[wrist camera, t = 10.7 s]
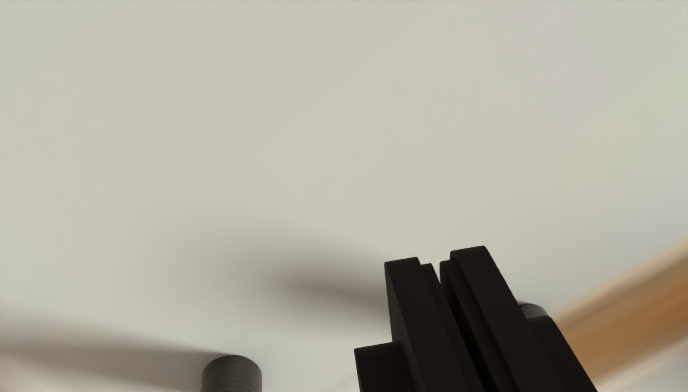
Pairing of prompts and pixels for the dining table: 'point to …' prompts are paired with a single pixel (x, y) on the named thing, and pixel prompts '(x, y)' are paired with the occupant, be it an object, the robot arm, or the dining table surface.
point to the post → (232, 375)
